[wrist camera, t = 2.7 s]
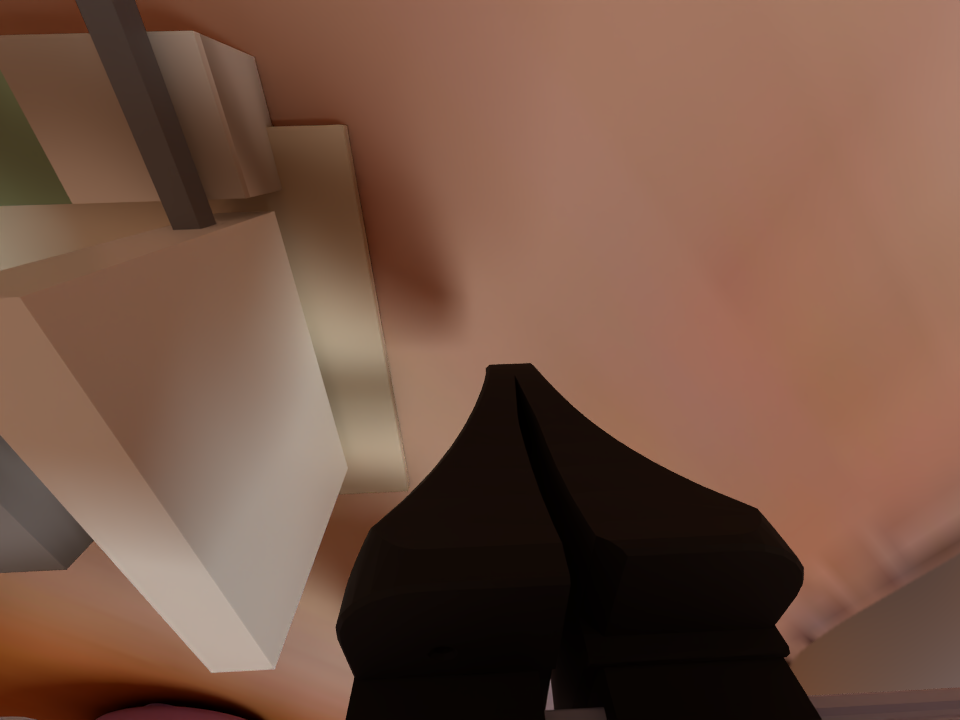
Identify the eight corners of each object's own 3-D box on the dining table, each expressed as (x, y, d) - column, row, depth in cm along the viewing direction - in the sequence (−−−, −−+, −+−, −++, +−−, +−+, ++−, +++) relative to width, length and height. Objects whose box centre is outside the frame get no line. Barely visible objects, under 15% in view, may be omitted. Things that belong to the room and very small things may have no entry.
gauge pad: (347, 468, 15) (274, 669, 9) (309, 469, 15) (211, 672, 9) (219, 21, 8) (-381, -287, 2) (147, 22, 8) (-641, -285, 2)
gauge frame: (409, 484, 17) (395, 570, 14) (94, 498, 17) (-2, 589, 13) (334, 54, 9) (256, -1, 6) (-254, 69, 9) (-701, 21, 6)
